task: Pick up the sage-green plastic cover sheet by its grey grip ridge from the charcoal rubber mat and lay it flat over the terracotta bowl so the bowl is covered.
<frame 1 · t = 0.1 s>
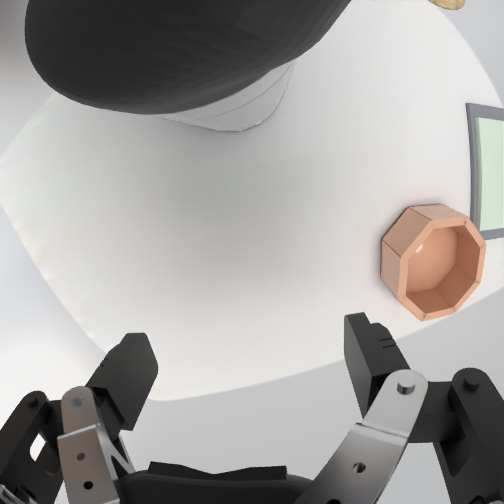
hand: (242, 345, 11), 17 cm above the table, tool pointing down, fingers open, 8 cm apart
bowl: (422, 251, 27), on the table
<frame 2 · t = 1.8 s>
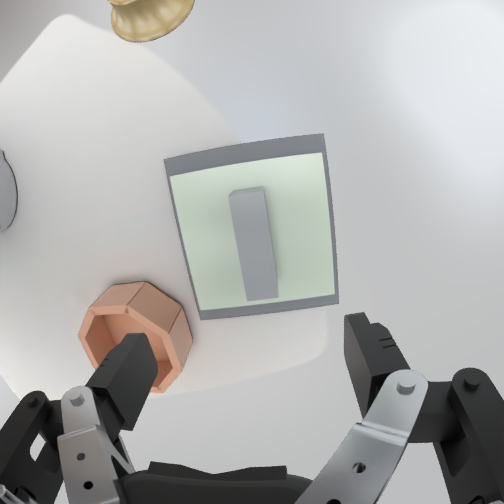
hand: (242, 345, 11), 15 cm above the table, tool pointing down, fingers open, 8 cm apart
hand bell: (152, 6, 19), on the table
bowl: (144, 325, 29), on the table
mat: (256, 232, 25), on the table
cover sheet: (256, 234, 25), point 1 cm above the table, touching mat
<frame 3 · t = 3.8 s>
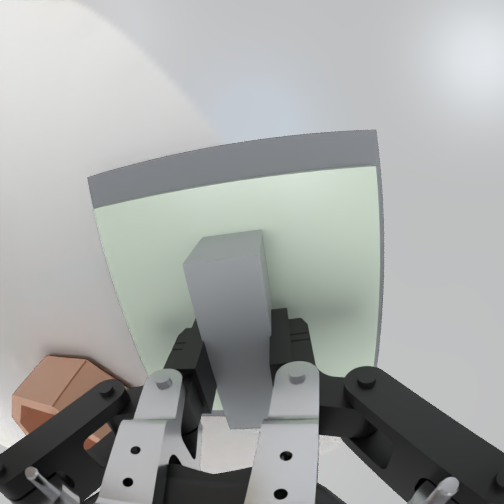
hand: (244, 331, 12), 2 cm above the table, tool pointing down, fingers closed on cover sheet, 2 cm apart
bowl: (96, 405, 18), on the table
mat: (248, 305, 14), on the table
cover sheet: (248, 311, 14), point 1 cm above the table, touching gripper, mat
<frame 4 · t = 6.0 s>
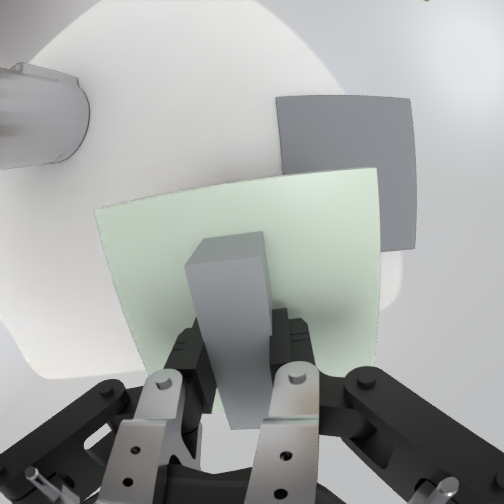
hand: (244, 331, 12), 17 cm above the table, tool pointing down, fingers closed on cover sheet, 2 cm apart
mat: (353, 174, 26), on the table
cover sheet: (249, 312, 14), point 15 cm above the table, touching gripper
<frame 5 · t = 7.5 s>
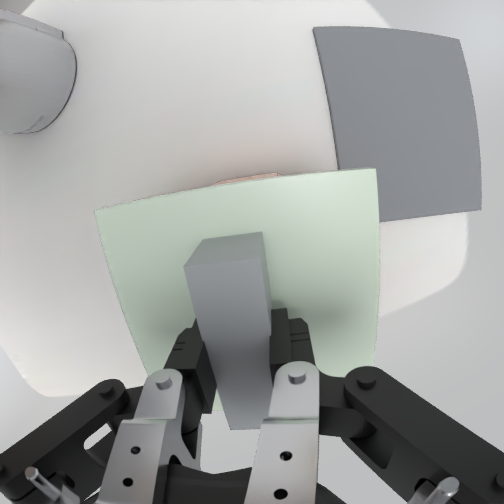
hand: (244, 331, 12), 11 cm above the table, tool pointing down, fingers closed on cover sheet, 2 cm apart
mat: (411, 120, 18), on the table
cover sheet: (248, 312, 14), point 9 cm above the table, touching gripper
when the fingers open (8 cm above the table, at t = 8.6 s): cover sheet drops 2 cm, resting on bowl.
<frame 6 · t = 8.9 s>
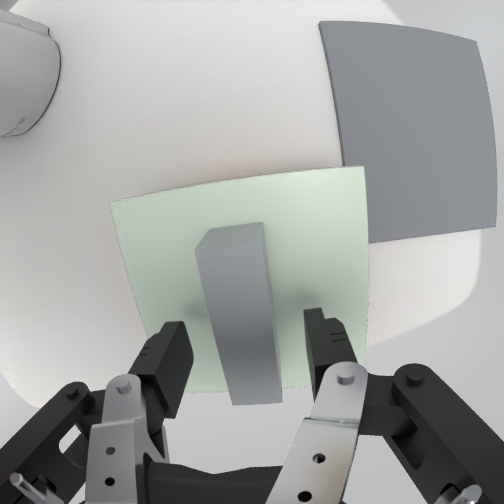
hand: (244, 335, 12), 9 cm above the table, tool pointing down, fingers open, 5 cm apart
mat: (426, 127, 16), on the table
cover sheet: (249, 296, 15), point 5 cm above the table, touching bowl
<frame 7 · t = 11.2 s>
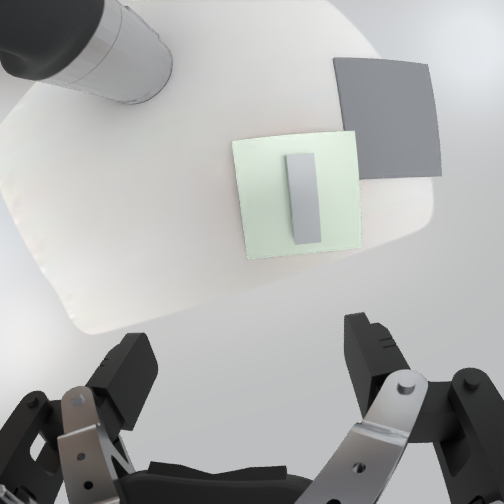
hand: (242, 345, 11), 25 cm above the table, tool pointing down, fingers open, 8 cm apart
mat: (392, 117, 30), on the table
cover sheet: (300, 194, 29), point 5 cm above the table, touching bowl
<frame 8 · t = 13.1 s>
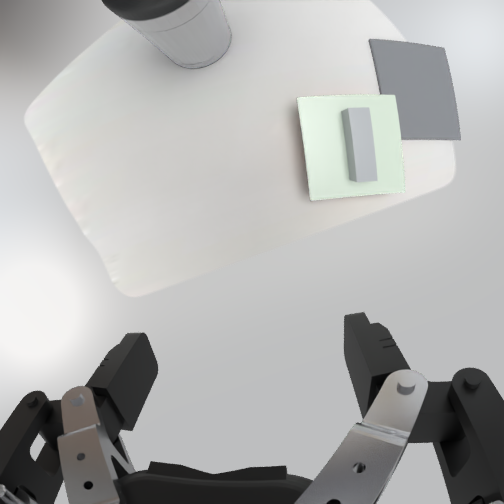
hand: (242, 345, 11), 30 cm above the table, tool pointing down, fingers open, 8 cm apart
mat: (418, 89, 33), on the table
cover sheet: (353, 144, 32), point 5 cm above the table, touching bowl
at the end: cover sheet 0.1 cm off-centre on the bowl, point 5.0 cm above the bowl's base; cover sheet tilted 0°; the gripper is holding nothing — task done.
